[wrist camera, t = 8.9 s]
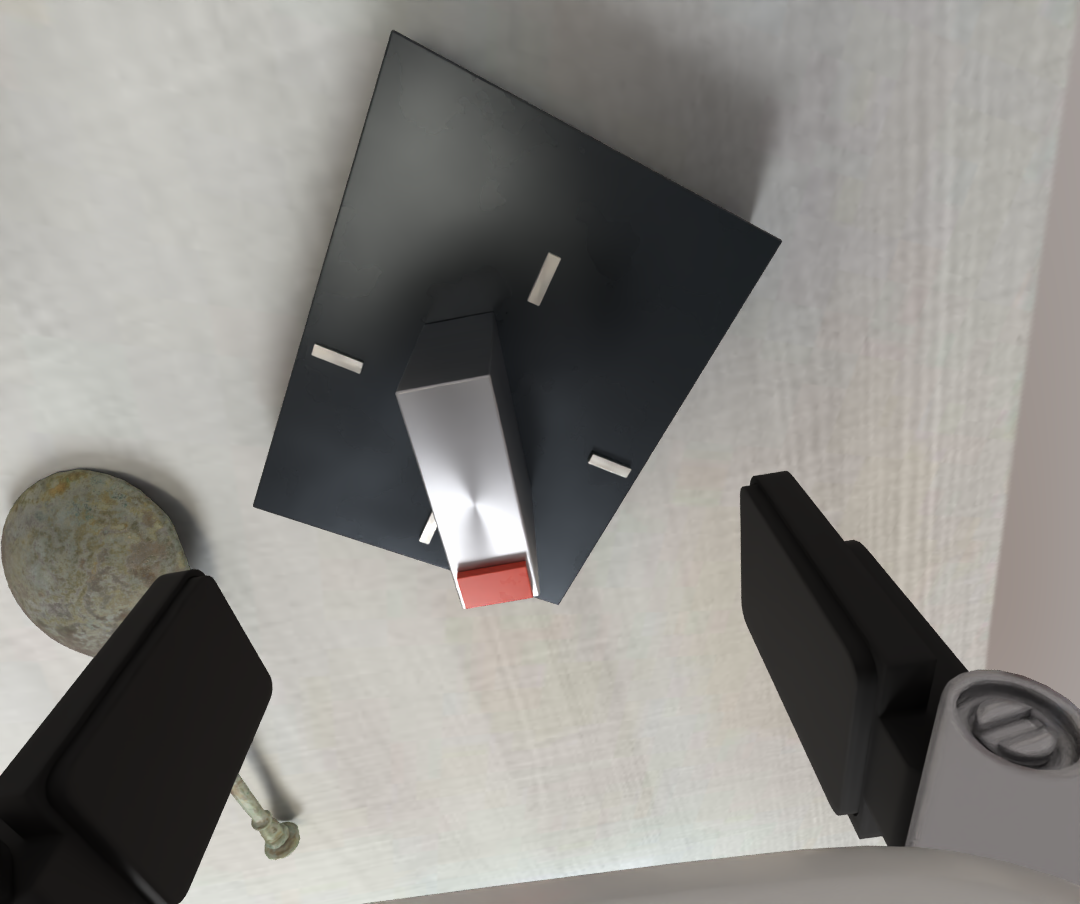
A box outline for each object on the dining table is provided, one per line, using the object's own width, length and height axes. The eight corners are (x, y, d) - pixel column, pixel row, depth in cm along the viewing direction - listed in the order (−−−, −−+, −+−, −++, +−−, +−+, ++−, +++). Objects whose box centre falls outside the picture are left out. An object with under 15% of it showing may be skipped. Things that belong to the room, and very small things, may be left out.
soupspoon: (174, 447, 21) (4, 469, 22) (114, 494, 18) (-83, 519, 19) (347, 822, 31) (227, 833, 31) (327, 893, 28) (194, 905, 28)
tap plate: (407, 43, 16) (390, 27, 13) (749, 228, 18) (785, 242, 16) (278, 468, 21) (250, 510, 19) (553, 562, 24) (559, 608, 22)
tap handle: (423, 324, 17) (392, 397, 12) (493, 311, 16) (490, 379, 12) (471, 501, 19) (461, 616, 15) (532, 491, 19) (540, 603, 15)
